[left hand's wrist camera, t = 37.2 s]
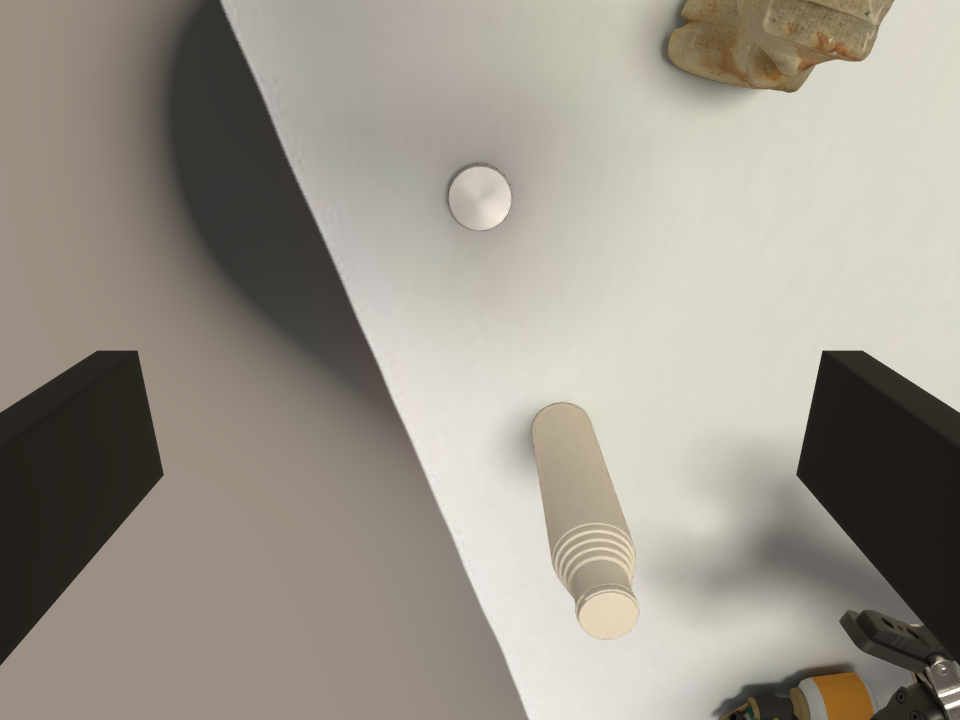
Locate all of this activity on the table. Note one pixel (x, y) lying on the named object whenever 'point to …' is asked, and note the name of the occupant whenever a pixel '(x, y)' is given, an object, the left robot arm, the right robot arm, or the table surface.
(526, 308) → the table surface
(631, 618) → the bottle
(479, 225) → the cap
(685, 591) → the table surface
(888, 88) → the table surface
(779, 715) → the spray gun
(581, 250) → the table surface
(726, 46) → the sculpture
